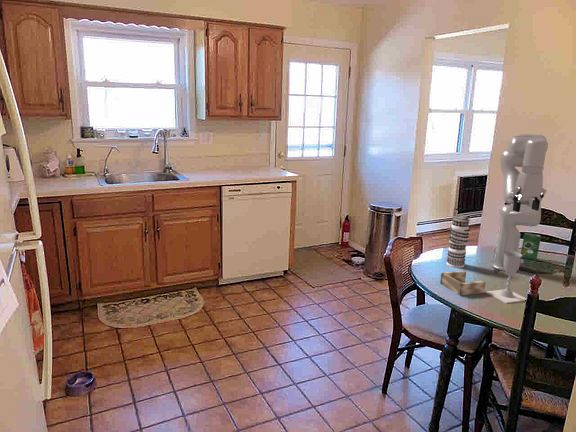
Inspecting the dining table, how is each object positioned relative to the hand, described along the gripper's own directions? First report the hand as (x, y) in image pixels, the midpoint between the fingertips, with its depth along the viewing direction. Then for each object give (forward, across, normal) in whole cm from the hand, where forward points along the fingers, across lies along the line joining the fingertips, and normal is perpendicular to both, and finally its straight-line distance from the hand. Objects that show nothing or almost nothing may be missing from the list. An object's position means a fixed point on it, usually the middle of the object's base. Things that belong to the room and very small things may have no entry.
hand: (525, 210), depth 188 cm
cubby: (+35, +23, -4) cm, 42 cm away
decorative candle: (+36, +7, -30) cm, 48 cm away
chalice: (+34, +10, +8) cm, 36 cm away
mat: (+34, +10, +8) cm, 37 cm away
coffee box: (+37, -39, -31) cm, 62 cm away
